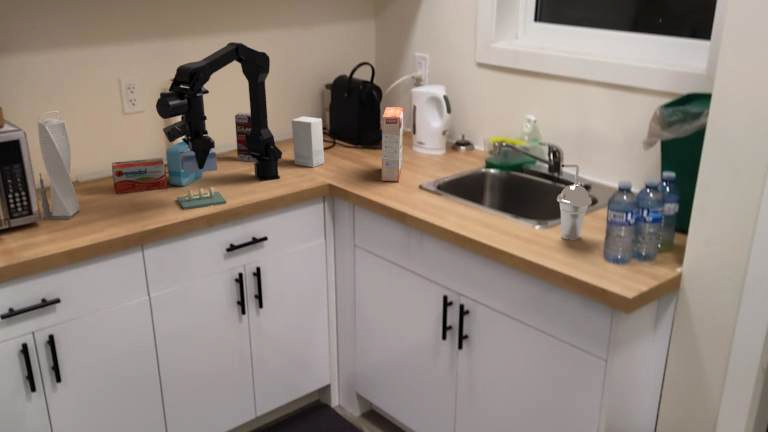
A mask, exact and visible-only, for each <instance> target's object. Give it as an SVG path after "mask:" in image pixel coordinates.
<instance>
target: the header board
mask: <svg viewBox="0 0 768 432" xmlns="http://www.w3.org/2000/svg"><path fill="white" fill-rule="evenodd" d="M176 199H177V201H178V203H179V205H180V207H181V208H182V209H183V211H185V210H192V209H199V208H204V207H212V206H211V205H213V206H219V205H226V204H227V200H226V199H225V197H224V196H223V194H221V192H220V191H214V187H213V186H210V187H208V192H205V193H204V189H203V188H198V194H193V190H192V189H188V190H187V195H183V196H178V197H176Z"/></svg>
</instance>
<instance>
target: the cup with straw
mask: <svg viewBox="0 0 768 432" xmlns="http://www.w3.org/2000/svg"><path fill="white" fill-rule="evenodd" d="M561 167H562V168H575V174H574V175H575V176H574V183H573V184H569V185H567V186H565V187H564V188H563V189H562V191H561V193H560V194H558V195H557V198H556V201H557V202H558V203H559V209H560V233H561V234H560V235H561V236H562V237H561V238H563V239H566V240H568V239H569V241H575V240H579V239H580V235H581V233H582V228H583V224H584V219H585V217H586V213H587V210H588V207H589V206H590V205H591V204H592V198H591V196H589V193H588V191H587V189H586V188H585V187H583V186H582V185H580V184H578V180H579V172H580V171H579V170H580V168H579V165H578V164H564V163H563V164H561Z"/></svg>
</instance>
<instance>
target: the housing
mask: <svg viewBox="0 0 768 432" xmlns="http://www.w3.org/2000/svg"><path fill="white" fill-rule="evenodd" d="M179 155H180V164H181V170H184V174H192V173H200V172H202V173H207V172H213V171H214V172H215V171H218V165H217V164H218V163H217V153H216V152H215V151H214V149H213V148H212V149H211V150H210V152H209V155H208V157H207V160H206V162H205V165H204V168H203V169H199V167H198V164H197V160H196V157H195V153H194V152H193V151H185V152H179Z"/></svg>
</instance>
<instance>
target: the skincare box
mask: <svg viewBox="0 0 768 432" xmlns="http://www.w3.org/2000/svg"><path fill="white" fill-rule="evenodd" d="M291 130H292V140H293V141H292V142H293V143H292V144H293V154H294V165H297V166H303V167H308V168H316V167H319V166H321V165H322V164H325V155H324V152H325V151H324V139H323V120H322V118H320V117H311V116H305V115H304V116H303V115H302V116H300V117H297V118H294V119H292V120H291Z"/></svg>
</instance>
